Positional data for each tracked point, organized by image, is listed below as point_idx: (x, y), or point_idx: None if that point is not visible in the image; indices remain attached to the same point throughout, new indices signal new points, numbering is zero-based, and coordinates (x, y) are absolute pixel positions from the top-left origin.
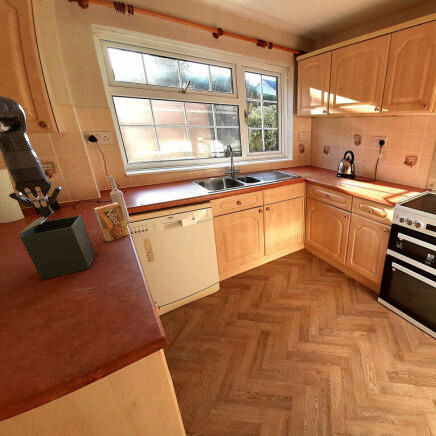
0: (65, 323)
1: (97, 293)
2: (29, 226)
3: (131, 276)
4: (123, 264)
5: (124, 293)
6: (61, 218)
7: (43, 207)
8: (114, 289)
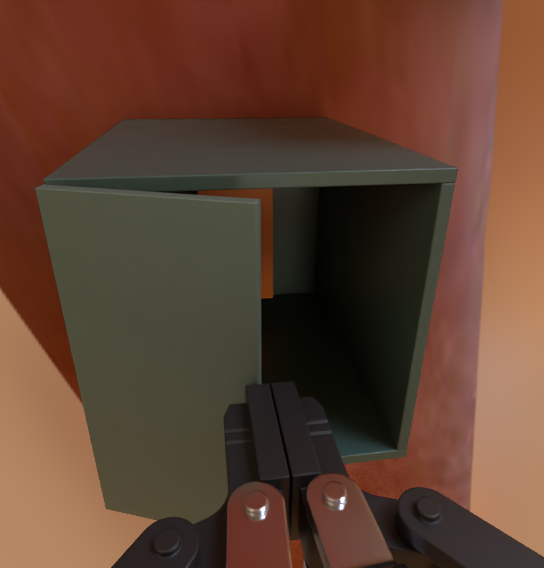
0: None
1: (359, 464)
2: (129, 434)
3: (452, 417)
4: (441, 324)
5: (424, 487)
6: (289, 172)
7: (299, 533)
8: (402, 462)
